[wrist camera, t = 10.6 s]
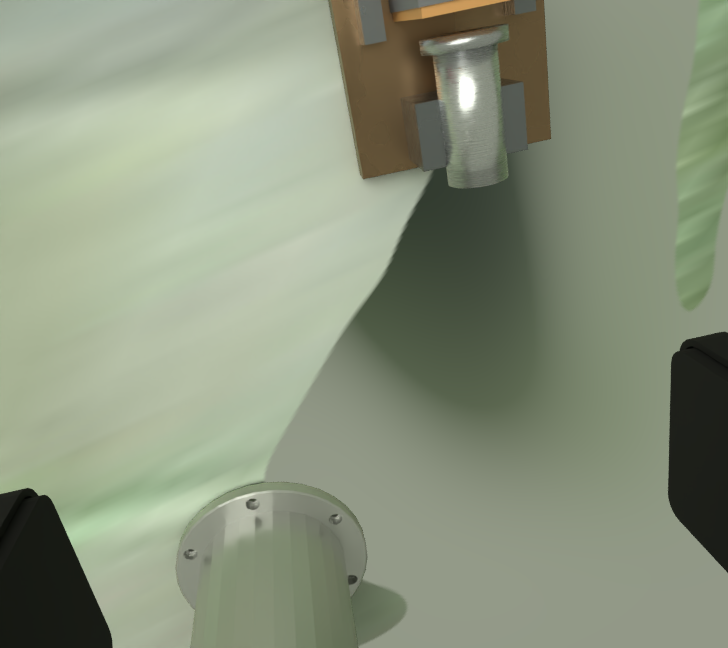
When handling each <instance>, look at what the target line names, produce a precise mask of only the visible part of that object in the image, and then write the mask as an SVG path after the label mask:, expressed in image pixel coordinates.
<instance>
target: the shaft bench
mask: <svg viewBox="0 0 728 648" xmlns="http://www.w3.org/2000/svg"><path fill="white" fill-rule="evenodd" d="M328 1H329V7H330V12H331V18H332V23H333V29H334V34H335V40H336V45H337V50H338V56H339V61H340V67H341V72H342V78H343V83H344V89H345V94H346V100H347V105H348V111H349V116H350V122H351V127H352V133H353V138H354V144H355V149H356V155H357V160H358V166H359V171H360V175H361V176H362V178H363V179H366V178H371V177H375V176H380V175H385V174H389V173H394V172H399V171H403V170H408V169H413V168H417V167H419V168H420V169H422V170H423V171H429V170H434V169H438V168H443V167H446V169H447V177H448V185H449V186H451V187H455V188H477V187H484V186H488V185H492V184H496V183H499V182H501V181H503V180H505V179H507V178H508V165H507V154H508V153H513V152H518V151H522V150H527V149H528V145H527V144H529V143H533V142H539V141H543V140H548V139H551V130H550V112H549V91H548V71H547V51H546V32H545V13H544V0H509V1H504V2H499V3H495V4H490V5H485V6H480V7H476V8H471V9H466V10H461V11H457V12H452V13H447V14H443V15H438V16H433V17H428V18H424V19H416V20H407V21H398V22H394V21H393V14H392V13H390V8H389V2H388V0H328Z"/></svg>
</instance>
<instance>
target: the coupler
mask: <svg viewBox="0 0 728 648" xmlns="http://www.w3.org/2000/svg"><path fill="white" fill-rule="evenodd" d="M504 1H509V0H388V2H389V8H390V13H392V14H393V21H394V22H398V21H407V20H416V19H424V18H428V17H433V16H438V15H443V14H447V13H452V12H457V11H461V10H466V9H471V8H476V7H480V6H485V5H490V4H495V3H499V2H504Z"/></svg>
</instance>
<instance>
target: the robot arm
mask: <svg viewBox="0 0 728 648" xmlns="http://www.w3.org/2000/svg"><path fill="white" fill-rule="evenodd" d="M669 439H670V440H669V479H668V497H669V501H670V505H671V508H672V510H673V512H674V514H675V516H676V517H677V518H678V519H679V521H680V522H681V523H682V524H683V525H684V526H685V527H686V528H687V529H688V530H689V531H690V533H691V534H692V535H693V536H694V537H695V538H696V539H697V540H698V541H699V542H700V543H701V544H702V545H703V547H704V548H706V550H707V551H708V552H709V553H710V554H711V555H712V556H713V557H714V558H715V560H716V561H717V562H718V563H719V564H720V565H721V566H722V567H723V568H724V569H725V570H726V571H727V572H728V333H727V332H719V333H715V334H711V335H706V336H701V337H697V338H692V339H688V340H686V341H685V342H683V343H682V345H681V348H680V351H678V352H676V353H675V354H674V355H673V357H672V362H671V396H670V438H669ZM366 562H367V551H366V543H365V539H364V535H363V530H362V528H361V526H360V524H359V522H358V521H357V518H356V516H355V515H354V514H353V513H352V512H351V511H350V510H349V508H348V507H347V506H346V505H344V504H343V503H342V502H341V501H339V500H338V499H337V498H335V497H334V496H332V495H330V494H328V493H326V492H324V491H322V490H320V489H317V488H314V487H310V486H306V485H303V484H297V483H288V482H270V483H260V484H255V485H250V486H245V487H242V488H239V489H237V490H234V491H231V492H229V493H226V494H225V495H223V496H221V497H219V498H217V499H216V500H214V501H212V502H211V503H210V504H208V505H207V506H206V507H205V508H203V509H202V510H201V511H200V512H199V513H198V514H197V515H196V516H195V517H194V518H193V520H192V521H191V522H190V523H189V525H188V526H187V528H186V530H185V532H184V534H183V536H182V538H181V540H180V544H179V549H178V553H177V561H176V575H177V582H178V585H179V587H180V590H181V592H182V594H183V596H184V598H185V599H186V600H187V602H188V603H189V604H190V606H191V607H192V608H193V609H194V610H195V614H194V622H193V630H192V638H191V647H190V648H358V642H357V636H356V629H355V623H354V616H353V610H352V603H351V597H352V596H353V594H354V593H355V591H356V590H357V588H358V587H359V585H360V583H361V581H362V578H363V576H364V573H365V570H366ZM0 648H113V647H112V637H111V633H110V630H109V628H108V625H107V623H106V621H105V619H104V616H103V614H102V612H101V610H100V607H99V605H98V603H97V601H96V598H95V596H94V594H93V592H92V589H91V587H90V585H89V583H88V580H87V578H86V576H85V574H84V571H83V569H82V567H81V565H80V563H79V560H78V558H77V556H76V554H75V551H74V549H73V547H72V545H71V542H70V540H69V538H68V536H67V533H66V531H65V529H64V527H63V524H62V522H61V520H60V518H59V515H58V513H57V511H56V509H55V506H54V504H53V502H52V501H51V499H50V498H49V497H48V496H46V495H41V496H38V495H37V493H36V492H35V491H34V490H33V489H29V488H26V489H21V490H17V491H13V492H8V493H4V494H0Z"/></svg>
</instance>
